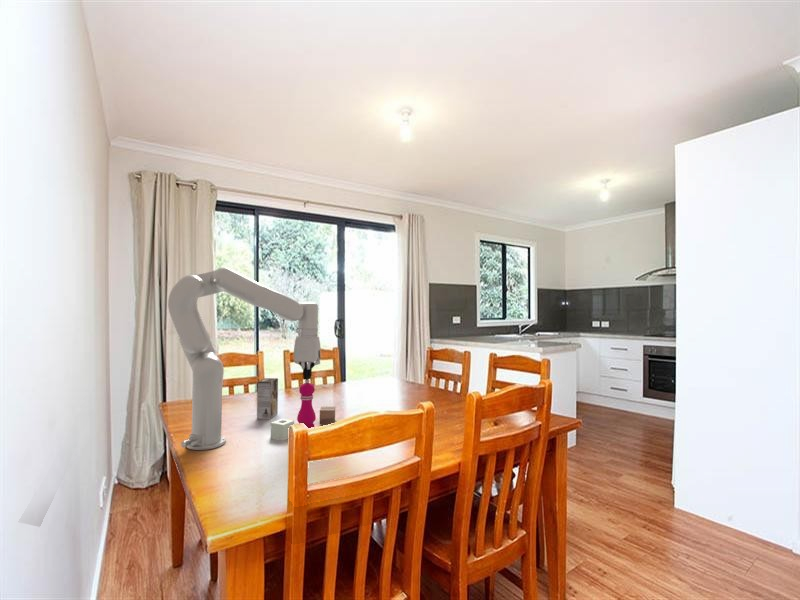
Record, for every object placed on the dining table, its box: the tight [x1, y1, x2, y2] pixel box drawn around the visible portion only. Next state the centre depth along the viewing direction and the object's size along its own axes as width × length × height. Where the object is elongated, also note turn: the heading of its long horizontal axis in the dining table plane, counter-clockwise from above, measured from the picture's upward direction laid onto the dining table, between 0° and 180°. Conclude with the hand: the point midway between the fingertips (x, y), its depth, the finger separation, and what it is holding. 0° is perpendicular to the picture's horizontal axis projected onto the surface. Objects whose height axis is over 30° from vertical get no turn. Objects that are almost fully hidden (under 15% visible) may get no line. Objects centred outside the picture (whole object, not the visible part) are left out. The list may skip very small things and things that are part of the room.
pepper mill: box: [296, 379, 317, 428], centre depth 160 cm, size 7×7×20 cm
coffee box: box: [256, 377, 279, 420], centre depth 177 cm, size 9×6×16 cm
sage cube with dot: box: [270, 418, 295, 441], centre depth 150 cm, size 6×6×6 cm
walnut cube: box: [318, 406, 336, 426], centre depth 169 cm, size 6×6×6 cm
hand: (307, 378), depth 160 cm, fingers closed
